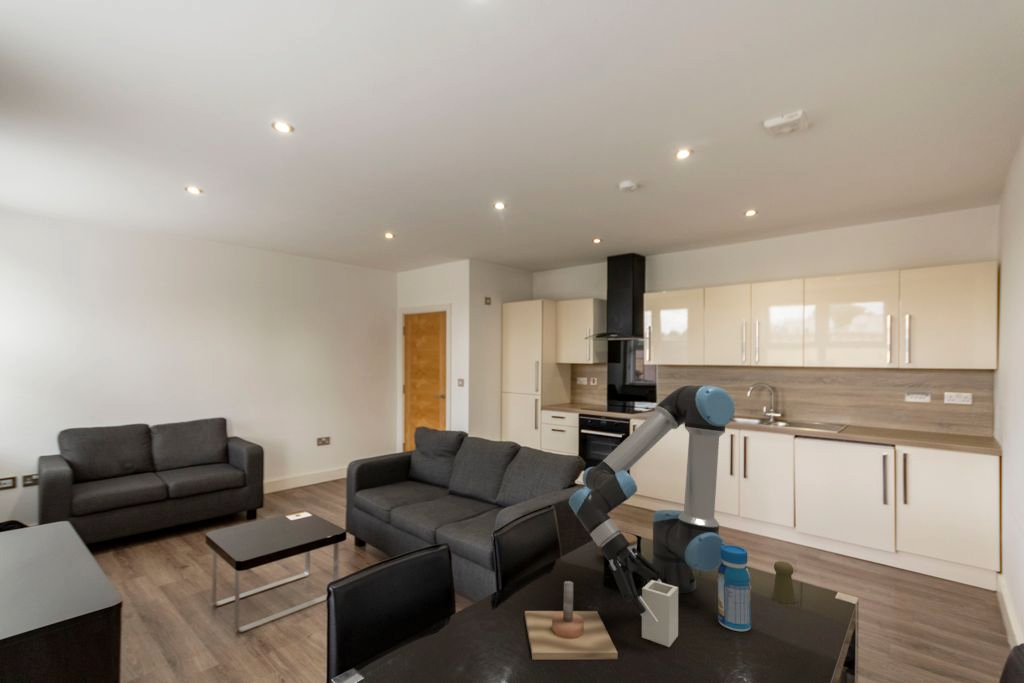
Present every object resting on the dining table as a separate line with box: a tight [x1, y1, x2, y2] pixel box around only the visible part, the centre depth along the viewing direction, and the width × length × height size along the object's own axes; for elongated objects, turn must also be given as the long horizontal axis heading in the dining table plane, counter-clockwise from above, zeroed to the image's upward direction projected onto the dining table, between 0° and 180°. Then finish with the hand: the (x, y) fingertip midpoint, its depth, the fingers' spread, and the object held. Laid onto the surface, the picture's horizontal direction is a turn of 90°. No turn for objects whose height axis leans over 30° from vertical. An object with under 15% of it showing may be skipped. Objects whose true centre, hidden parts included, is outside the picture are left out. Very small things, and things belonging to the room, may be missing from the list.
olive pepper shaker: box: [772, 560, 796, 605], centre depth 145 cm, size 6×6×11 cm
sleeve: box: [641, 580, 679, 648], centre depth 122 cm, size 7×7×12 cm
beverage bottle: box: [716, 544, 752, 632], centre depth 129 cm, size 8×8×20 cm
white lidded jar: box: [608, 530, 638, 564], centre depth 171 cm, size 13×13×11 cm
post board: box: [524, 580, 619, 661], centre depth 120 cm, size 20×20×13 cm
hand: (663, 614), depth 121 cm, fingers open, 13 cm apart
